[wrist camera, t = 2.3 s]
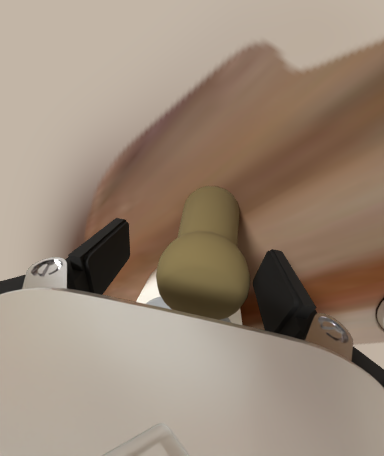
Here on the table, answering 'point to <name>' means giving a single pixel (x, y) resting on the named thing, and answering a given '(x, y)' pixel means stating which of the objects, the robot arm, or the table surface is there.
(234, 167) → the table surface
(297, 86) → the table surface
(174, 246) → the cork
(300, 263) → the table surface
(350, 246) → the table surface
